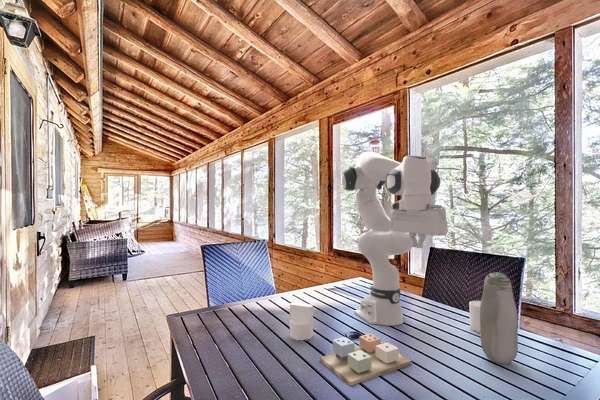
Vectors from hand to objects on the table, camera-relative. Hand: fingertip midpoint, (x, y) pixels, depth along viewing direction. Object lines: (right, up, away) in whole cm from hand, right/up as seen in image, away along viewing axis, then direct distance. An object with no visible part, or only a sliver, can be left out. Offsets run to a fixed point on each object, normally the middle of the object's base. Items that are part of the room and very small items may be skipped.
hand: (417, 247), depth 100 cm
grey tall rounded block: (+26, -36, -1) cm, 45 cm away
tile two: (-20, -35, -7) cm, 41 cm away
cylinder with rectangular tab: (-37, -37, +20) cm, 56 cm away
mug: (+34, -37, +22) cm, 55 cm away
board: (-17, -37, -1) cm, 40 cm away
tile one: (-10, -35, -2) cm, 36 cm away
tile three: (-24, -34, 0) cm, 41 cm away
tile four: (-14, -35, +5) cm, 38 cm away
